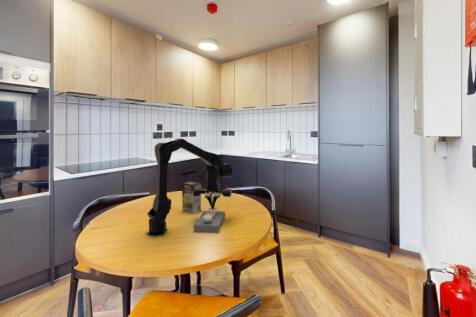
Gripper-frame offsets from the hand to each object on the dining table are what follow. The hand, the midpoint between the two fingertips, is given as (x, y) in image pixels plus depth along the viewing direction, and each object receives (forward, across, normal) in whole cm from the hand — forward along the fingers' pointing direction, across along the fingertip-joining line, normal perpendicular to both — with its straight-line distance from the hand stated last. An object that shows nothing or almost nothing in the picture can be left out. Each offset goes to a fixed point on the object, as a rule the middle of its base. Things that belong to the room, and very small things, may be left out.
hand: (212, 208), depth 127 cm
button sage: (+1, 0, +13) cm, 13 cm away
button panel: (+6, 0, +6) cm, 8 cm away
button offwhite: (+2, 0, 0) cm, 2 cm away
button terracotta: (+2, 0, +6) cm, 7 cm away
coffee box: (+6, +14, -13) cm, 20 cm away
